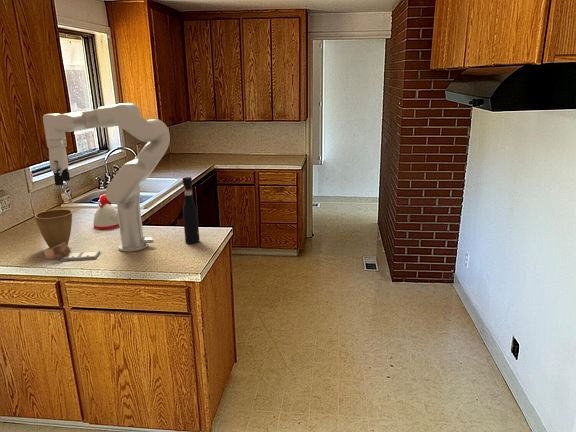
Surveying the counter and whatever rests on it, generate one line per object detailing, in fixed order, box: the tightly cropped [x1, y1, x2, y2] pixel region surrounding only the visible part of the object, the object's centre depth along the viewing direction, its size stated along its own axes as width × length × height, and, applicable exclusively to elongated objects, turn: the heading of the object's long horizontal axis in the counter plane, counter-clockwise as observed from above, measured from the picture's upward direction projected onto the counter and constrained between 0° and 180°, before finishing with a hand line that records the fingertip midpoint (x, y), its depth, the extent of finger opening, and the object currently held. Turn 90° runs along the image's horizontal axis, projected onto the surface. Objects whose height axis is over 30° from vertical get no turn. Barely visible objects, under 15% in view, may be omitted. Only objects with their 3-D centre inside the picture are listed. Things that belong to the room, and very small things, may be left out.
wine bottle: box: [182, 176, 200, 245], centre depth 204 cm, size 6×6×30 cm
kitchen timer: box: [92, 197, 119, 231], centre depth 235 cm, size 14×14×15 cm
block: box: [52, 242, 72, 260], centre depth 191 cm, size 4×4×5 cm
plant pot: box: [34, 208, 73, 248], centre depth 204 cm, size 15×15×16 cm
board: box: [60, 250, 101, 262], centre depth 193 cm, size 14×7×1 cm, turn 98°
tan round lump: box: [44, 247, 58, 261], centre depth 194 cm, size 6×6×4 cm
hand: (63, 182), depth 197 cm, fingers open, 9 cm apart
